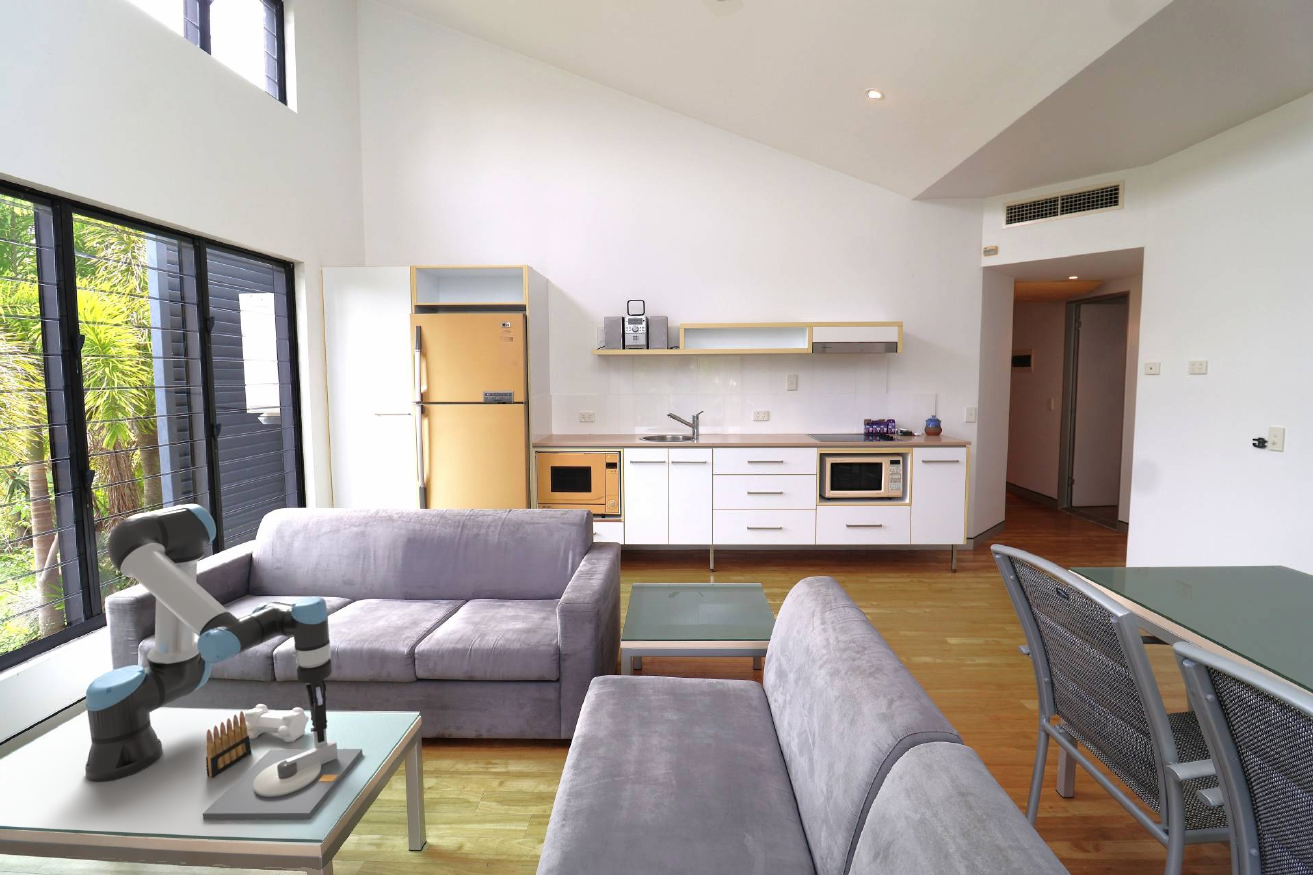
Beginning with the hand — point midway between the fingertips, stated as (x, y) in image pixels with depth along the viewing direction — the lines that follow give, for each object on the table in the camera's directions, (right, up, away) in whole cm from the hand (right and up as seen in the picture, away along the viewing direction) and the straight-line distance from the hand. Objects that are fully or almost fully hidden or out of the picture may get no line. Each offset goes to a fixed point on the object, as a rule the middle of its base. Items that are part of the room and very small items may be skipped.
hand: (321, 751), depth 161 cm
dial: (-3, -3, -5) cm, 7 cm away
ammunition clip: (-24, -5, +2) cm, 25 cm away
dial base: (-4, -5, -6) cm, 9 cm away
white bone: (-20, -3, +15) cm, 25 cm away
